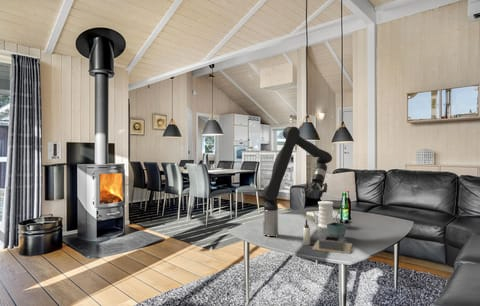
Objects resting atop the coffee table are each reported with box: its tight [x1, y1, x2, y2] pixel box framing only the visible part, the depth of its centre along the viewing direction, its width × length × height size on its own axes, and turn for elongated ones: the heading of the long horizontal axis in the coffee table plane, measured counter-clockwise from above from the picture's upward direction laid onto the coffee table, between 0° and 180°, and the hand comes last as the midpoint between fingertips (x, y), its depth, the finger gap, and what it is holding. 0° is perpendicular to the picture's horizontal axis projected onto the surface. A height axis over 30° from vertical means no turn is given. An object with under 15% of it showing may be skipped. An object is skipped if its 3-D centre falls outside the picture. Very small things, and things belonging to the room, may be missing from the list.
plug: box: [302, 218, 311, 246], centre depth 180 cm, size 4×4×15 cm
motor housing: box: [311, 234, 353, 255], centre depth 172 cm, size 20×16×5 cm
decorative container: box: [317, 200, 334, 230], centre depth 222 cm, size 12×12×18 cm
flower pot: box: [326, 221, 347, 237], centre depth 191 cm, size 9×9×9 cm
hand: (313, 196), depth 191 cm, fingers open, 8 cm apart
